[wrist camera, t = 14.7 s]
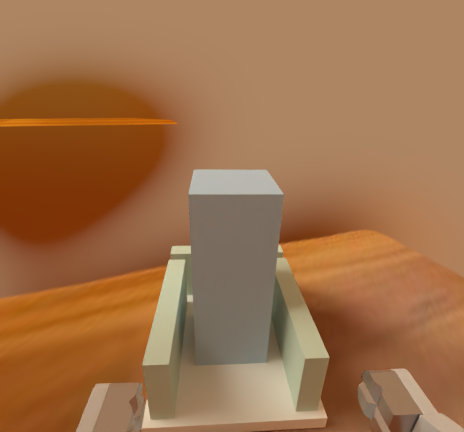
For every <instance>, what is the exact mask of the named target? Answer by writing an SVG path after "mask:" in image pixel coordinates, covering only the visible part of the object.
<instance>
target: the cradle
mask: <svg viewBox="0 0 464 432" xmlns="http://www.w3.org/2000/svg"><path fill="white" fill-rule="evenodd" d="M329 359H330V357H329V355H328V353H327V350H326V348H325V346H324V344H323V341H322V339H321V337H320V334H319V332H318V330H317V328H316V325H315V323H314V321H313V319H312V316H311V314H310V312H309V310H308V307H307V305H306V303H305V300H304V298H303V296H302V294H301V291H300V289H299V287H298V285H297V282H296V280H295V278H294V275H293V273H292V271H291V269H290V266H289V264H288V262H287V260H286V258H283V251H282V248H281V246H280V245H278V254H277V264H276V274H275V284H274V293H273V303H272V313H271V322H270V332H269V342H268V352H267V361H266V363H249V364H226V365H202V366H196V358H195V334H194V311H193V288H192V264H191V246H172V250H171V260H169V262H168V266H167V270H166V273H165V277H164V281H163V285H162V289H161V293H160V297H159V301H158V305H157V309H156V313H155V317H154V321H153V325H152V329H151V333H150V337H149V340H148V344H147V348H146V352H145V356H144V360H143V364H142V368H143V374H144V381H145V387H146V394H147V402H146V406H145V411H144V419H143V424H142V428H141V432H254V431H271V430H288V429H305V428H321V427H325V426H326V422H327V415H326V412H325V409H324V407H323V404H322V401H321V393H322V389H323V385H324V380H325V376H326V372H327V367H328V363H329Z"/></svg>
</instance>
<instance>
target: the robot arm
mask: <svg viewBox="0 0 464 432" xmlns="http://www.w3.org/2000/svg"><path fill="white" fill-rule="evenodd" d="M361 377H362V379H363V382H362V383H361V384H360V385H359V387H358V391H357V393H358V400H359V404H360V407H361V409H362V411H363V413H364V414H365V415H366V416H367V417H368V418H369V419H370V420H371V424H370V428H371V430H372V432H464V428H462V427H461V426H459V425H458V424H457V423H455V422H454V421H453V420H451V419H450V418H448V417H447V416H446V415H444V414H443V413H441V414H439V413H438V412H437V410H436V409H435V408H434V406H433V405H432V403H431V402H430V401H429V399H428V398H427V396H426V395H425V394H424V392H423V391H422V389H421V388H420V387H419V385H418V384H417V382H416V381H415V380H414V378H413V377H412V375H411V374H410V373H409V371H407V370H406V369H404V368H399V369H378V370H365V371H364V372H363V373H362V376H361ZM142 389H143V388H142V383H141V382H132V383H103V384H96V385H95V387H94V388H93V390H92V392H91V395H90V397H89V400H88V402H87V405H86V407H85V410H84V412H83V415H82V417H81V420H80V422H79V425H78V427H77V430H76V432H139V430H140V429H141V428H142V424H143V419H144V411H145V400H144V396H142V395H141V393H142Z"/></svg>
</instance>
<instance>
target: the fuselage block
mask: <svg viewBox="0 0 464 432" xmlns="http://www.w3.org/2000/svg"><path fill="white" fill-rule="evenodd" d="M188 195H189V216H190V241H191V264H192V288H193V311H194V334H195V358H196V366H202V365H226V364H249V363H266V361H267V352H268V342H269V332H270V322H271V313H272V303H273V293H274V284H275V274H276V264H277V254H278V245H279V235H280V225H281V216H282V206H283V196H284V194H283V193H282V191H281V190H280V188H279V187H278V185H277V184H276V183H275V181H274V180H273V178H272V177H271V175H270V174H269V172H268V171H267V170H194V172H193V177H192V181H191V186H190V190H189V194H188Z"/></svg>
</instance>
